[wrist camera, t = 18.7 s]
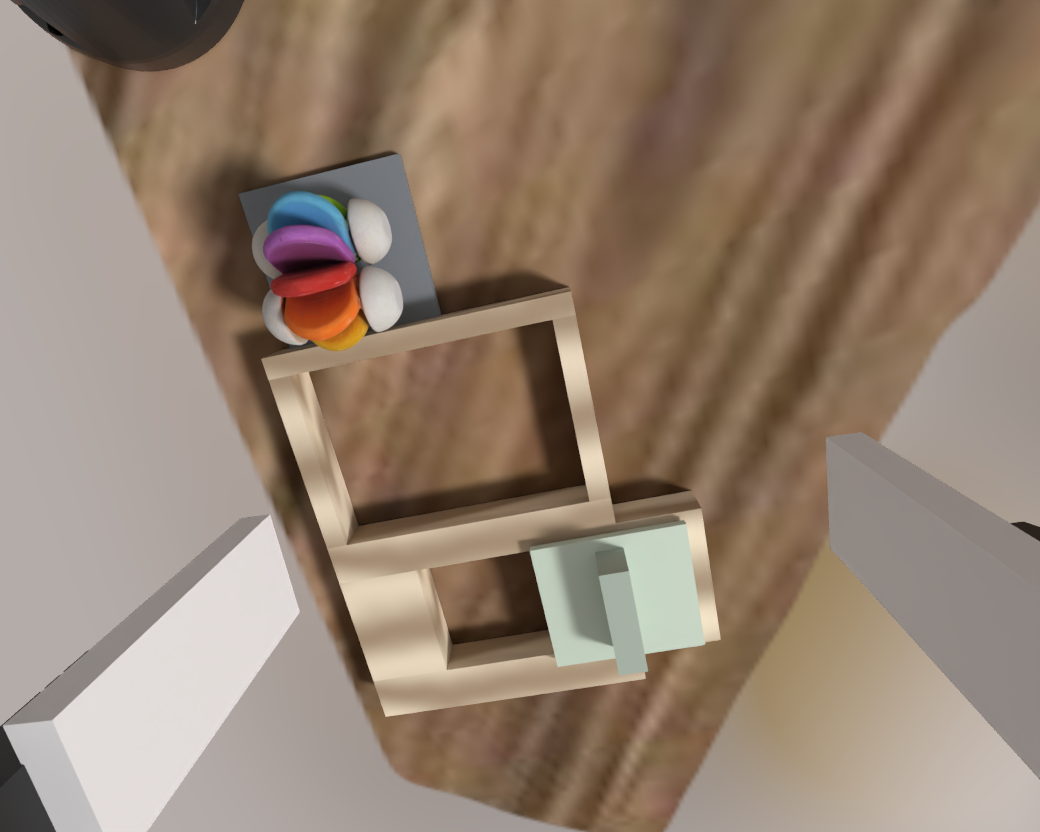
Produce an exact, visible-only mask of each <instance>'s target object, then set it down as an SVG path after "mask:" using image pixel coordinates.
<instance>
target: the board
mask: <svg viewBox="0 0 1040 832" xmlns="http://www.w3.org/2000/svg"><path fill="white" fill-rule="evenodd" d="M548 320H553V325H554V330H555V335H556V340H557V344H558V349H559V354H560V359H561V364H562V369H563V374H564V379H565V384H566V389H567V393H568V398H569V403H570V408H571V413H572V418H573V423H574V428H575V433H576V438H577V442H578V447H579V452H580V457H581V462H582V467H583V472H584V477H585V482H586V485H581V486H575V487H570V488H564V489H559V490H553V491H548V492H542V493H537V494H532V495H526V496H521V497H515V498H510V499H504V500H499V501H493V502H488V503H482V504H477V505H471V506H466V507H460V508H455V509H449V510H444V511H438V512H433V513H428V514H422V515H417V516H411V517H406V518H400V519H395V520H389V521H384V522H378V523H373V524H367V525H362V526H359V525H358V522H357V519H356V516H355V512H354V509H353V506H352V503H351V500H350V497H349V494H348V491H347V488H346V485H345V482H344V479H343V476H342V473H341V470H340V467H339V464H338V461H337V458H336V455H335V452H334V448H333V445H332V442H331V439H330V436H329V433H328V430H327V427H326V424H325V421H324V418H323V415H322V412H321V409H320V406H319V403H318V400H317V397H316V394H315V391H314V387H313V384H312V381H311V378H310V375H309V371H314V370H319V369H324V368H328V367H333V366H338V365H342V364H347V363H352V362H356V361H361V360H366V359H370V358H375V357H380V356H384V355H389V354H394V353H398V352H403V351H408V350H413V349H417V348H422V347H427V346H431V345H436V344H441V343H445V342H450V341H455V340H459V339H464V338H469V337H473V336H478V335H483V334H487V333H492V332H497V331H502V330H506V329H511V328H516V327H520V326H525V325H530V324H534V323H539V322H544V321H548ZM261 360H262V363H263V366H264V369H265V372H266V374H267V377H268V380H269V383H270V386H271V389H272V392H273V394H274V397H275V400H276V403H277V406H278V409H279V412H280V415H281V417H282V420H283V423H284V426H285V429H286V432H287V435H288V437H289V440H290V443H291V446H292V449H293V452H294V455H295V458H296V460H297V463H298V466H299V469H300V472H301V475H302V478H303V480H304V483H305V486H306V489H307V492H308V495H309V498H310V501H311V503H312V506H313V509H314V512H315V515H316V518H317V521H318V523H319V526H320V529H321V532H322V535H323V538H324V541H325V544H326V546H327V549H328V552H329V555H330V558H331V561H332V564H333V567H334V569H335V572H336V575H337V578H338V581H339V584H340V587H341V589H342V592H343V595H344V598H345V601H346V604H347V607H348V610H349V612H350V615H351V618H352V621H353V624H354V627H355V630H356V632H357V635H358V638H359V641H360V644H361V647H362V650H363V653H364V655H365V658H366V661H367V664H368V667H369V670H370V673H371V675H372V678H373V681H374V684H375V687H376V690H377V693H378V696H379V698H380V701H381V704H382V707H383V710H384V713H385V716H386V717H387V716H394V715H401V714H408V713H415V712H422V711H428V710H435V709H442V708H449V707H456V706H463V705H469V704H476V703H483V702H490V701H497V700H504V699H510V698H517V697H524V696H531V695H538V694H545V693H551V692H558V691H565V690H572V689H579V688H586V687H592V686H599V685H606V684H613V683H620V682H627V681H633V680H640V679H646V678H645V673H644V672H640V673H634V674H627V675H620V676H619V672H618V667H617V662H616V658H614V659H607V660H601V661H594V662H588V663H581V664H574V665H568V666H561V667H558V666H557V662H556V658H555V654H554V650H553V646H552V641H551V637H550V633H549V630H544V631H538V632H531V633H525V634H519V635H512V636H506V637H500V638H493V639H487V640H481V641H474V642H468V643H462V644H455V645H452V641H451V638H450V635H449V631H448V628H447V625H446V621H445V618H444V614H443V611H442V608H441V604H440V601H439V598H438V594H437V591H436V588H435V584H434V581H433V577H432V574H431V571H430V568H434V567H440V566H446V565H451V564H457V563H463V562H469V561H475V560H480V559H486V558H492V557H498V556H504V555H509V554H515V553H521V552H527V551H530V547H531V546H537V545H543V544H549V543H554V542H560V541H566V540H572V539H577V538H583V537H589V536H595V535H600V534H606V533H612V532H618V531H624V530H629V529H635V528H641V527H647V526H652V525H658V524H664V523H670V522H675V521H681V520H685V522H686V525H687V532H688V538H689V545H690V551H691V558H692V564H693V570H694V577H695V583H696V590H697V596H698V602H699V609H700V615H701V622H702V628H703V635H704V641H705V642H709V641H716V640H721V639H720V632H719V626H718V619H717V612H716V605H715V598H714V592H713V585H712V578H711V571H710V564H709V557H708V551H707V544H706V537H705V530H704V523H703V517H702V510H701V507H700V505H699V503H698V501H697V500H696V498H695V496H694V494H693V492H692V490H691V491H686V492H680V493H675V494H669V495H663V496H658V497H652V498H647V499H641V500H635V501H630V502H624V503H619V504H613V505H612V501H611V496H610V491H609V486H608V481H607V475H606V470H605V465H604V460H603V455H602V449H601V444H600V439H599V434H598V429H597V423H596V418H595V413H594V408H593V403H592V397H591V392H590V387H589V382H588V377H587V372H586V366H585V361H584V356H583V351H582V346H581V340H580V335H579V330H578V325H577V320H576V314H575V309H574V304H573V299H572V294H571V290H570V287H567V288H562V289H558V290H553V291H549V292H544V293H539V294H535V295H530V296H526V297H521V298H517V299H512V300H507V301H503V302H498V303H494V304H489V305H485V306H480V307H475V308H471V309H466V310H462V311H457V312H453V313H448V314H443V315H441V316H438V317H434V318H429V319H424V320H420V321H415V322H411V323H406V324H402V325H397V326H392V327H390V328H388V329H387V330H384V331H382V332H376V331H370V332H366V334H365V336H364V337H363V338H362V339H361V340H360V341H359V342H358V343H357V344H356V345H354V346H353V347H351V348H349V349H347V350H343V351H329V350H326V349H323V348H321V347H319V346H318V345H316V344H310V345H306V346H301V347H296V348H292V349H290V348H288V349H283V350H280V351H277V352H275V353H273V354H271V355H268V356H266V357H264V358H262V359H261Z"/></svg>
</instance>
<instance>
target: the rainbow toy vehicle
mask: <svg viewBox="0 0 1040 832" xmlns="http://www.w3.org/2000/svg"><path fill="white" fill-rule="evenodd" d="M391 243H392V233H391V228H390V224H389V221H388V218H387V216H386V214H385V213H384V212H383V210H382V209H381V208H380V207H378V206H377V205H376V204H374V203H372V202H370V201H368V200H365V199H358V198H354V199H350V200H349V202H348V206H347V209H346V208H345V207H344V206H343V205H341V204H340V203H339V202H337V201H336V200H334V199H332V198H330V197H327V196H324V195H316V194H313V193H310V192H306V191H290V192H287V193H285V194H283V195H282V196H280V197H279V198H278V199H277V200H276V201H275V202H274V203H273V205H272V206H271V208H270V211H269V214H268V219H267V220H266V221H265V222H263V223H262V224H261V225H260V226H259V227H258V229H257V230H256V232H255V234H254V236H253V240H252V252H253V256H254V259H255V261H256V263H257V265H258V266H259V268H260V269H261V270H262V271H263V272H264V273H265V274H266V275H268V276H269V277H271V278H272V279H274V280H273V281H272V282H271V289H270V290H269V292H268V293H267V295H266V296H265V299H264V301H263V306H262V315H263V319H264V322H265V325H266V327H267V328H268V330H269V331H270V332H271V333H272V334H273V335H274V336H275V337H276V338H278V339H279V340H281V341H283V342H285V343H288V344H292V345H303V344H305V343H306V342H307V341H308V340H311V341H313V342H314V343H315V344H316V345H318V346H319V347H321V348H323V349H326V350H329V351H343V350H347V349H349V348H351V347H353V346H354V345H356V344H357V343H358V342H359V341H360V340H361V339H362V338H363V337H364V336H365V334H366V332H367V330H368V327H369V326H371V327H372V329H373V330H374V331H376V332H382V331H384V330H387V329H388V328H390V327H391V326H393V325H394V324H395V323H396V322H397V320H398V319H399V317H400V315H401V313H402V310H403V297H402V292H401V289H400V286H399V284H398V282H397V280H396V279H395V278H394V277H393V276H392V275H391V274H390V273H388V272H387V271H385V270H383V269H381V268H378V267H371V266H367V267H364V268H363V269H362V270H361V271H360V272H359V274H358V275H357V273H358V270H357V267H356V266H355V265H354V263H357V262H359V261H360V260H361V259H362V260H363V261H364V262H365V263H366V264H368V265H373V264H375V263H377V262H379V261H380V260H381V259H382V258H383V257H384V256H385V255H386V254H387V252H388V251H389V249H390V246H391Z"/></svg>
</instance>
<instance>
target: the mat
mask: <svg viewBox="0 0 1040 832" xmlns="http://www.w3.org/2000/svg"><path fill="white" fill-rule="evenodd" d="M290 191H306V192H310V193H313V194H316V195H324V196H327V197H330V198H332V199H334V200H336V201H337V202H339V203H340V204H341V205H343V206H344V207H345V208H346V209H347V206H348V202H349V200H350V199H354V198H358V199H365V200H368V201H370V202H372V203H374V204H376V205H377V206H378V207H380V208H381V209H382V210H383V212H384V213H385V214H386V216H387V218H388V221H389V224H390V228H391V233H392V243H391V246H390V249H389V251H388V252H387V254H386V255H385V256H384V257H383V258H382V259H381V260H380V261H379V262H377V263H375V264H373V265H368V264H366V263H365V262H364V261H363V260H362V259H361V260H360V261H359V262H357V263H354V265H355V266H356V267H357V270H358V273H357V275H358V274H359V272H360V271H361V270H362V269H363V268H364V267H367V266H371V267H378V268H381V269H383V270H385V271H387V272H388V273H390V274H391V275H392V276H393V277H394V278H395V279H396V280H397V282H398V284H399V286H400V289H401V292H402V297H403V310H402V313H401V315H400V317H399V319H398V320H397V322H396V323H395V324H394V325H393V326H397V325H402V324H406V323H411V322H415V321H420V320H424V319H429V318H434V317H438V316H441V315H442V314H441V310H440V306H439V302H438V298H437V295H436V291H435V287H434V283H433V279H432V275H431V271H430V267H429V263H428V259H427V255H426V252H425V248H424V244H423V240H422V236H421V232H420V228H419V224H418V220H417V216H416V212H415V209H414V205H413V201H412V197H411V193H410V189H409V185H408V181H407V177H406V173H405V170H404V166H403V162H402V158H401V155H400V154H395V155H391V156H387V157H383V158H379V159H375V160H371V161H367V162H363V163H359V164H355V165H351V166H347V167H343V168H339V169H335V170H331V171H327V172H323V173H319V174H315V175H311V176H307V177H303V178H299V179H295V180H291V181H287V182H283V183H279V184H275V185H271V186H267V187H263V188H259V189H255V190H251V191H247V192H243V193H239V194H238V195H239V198H240V201H241V204H242V207H243V210H244V213H245V216H246V219H247V222H248V225H249V228H250V231H251V234H252V237H253V236H254V234H255V232H256V230H257V229H258V227H259V226H260V225H261V224H262V223H263V222H265V221H266V220H267V219H268V214H269V211H270V208H271V206H272V205H273V203H274V202H275V201H276V200H277V199H278V198H279V197H280V196H282V195H283V194H285V193H287V192H290ZM265 276H266V279H267V282H268V285H269V288H270V289H271V282H272V281H273V280H274V279H272V278H271V277H269V276H268V275H266V274H265ZM391 327H392V326H391ZM370 331H374V330H373V329H372V327H371V326H369V327H368V330H367V332H370ZM310 344H315V343H314V342H313V341H311V340H308V341H307V342H306V343H305V344H303V345H292V344H288V345H289V348H290V349H292V348H296V347H301V346H306V345H310Z"/></svg>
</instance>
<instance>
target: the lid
mask: <svg viewBox="0 0 1040 832" xmlns="http://www.w3.org/2000/svg"><path fill="white" fill-rule="evenodd" d="M530 554H531V559H532V563H533V567H534V571H535V575H536V579H537V583H538V588H539V592H540V596H541V600H542V604H543V608H544V612H545V617H546V621H547V625H548V629H549V633H550V637H551V641H552V646H553V650H554V654H555V658H556V662H557V666H558V667H561V666H568V665H574V664H581V663H588V662H594V661H601V660H607V659H614V658H616V662H617V667H618V672H619V676H620V675H627V674H634V673H640V672H647V671H648V668H647V663H646V658H645V654H647V653H654V652H661V651H667V650H674V649H680V648H687V647H694V646H700V645H705V641H704V635H703V628H702V622H701V615H700V609H699V602H698V596H697V590H696V583H695V577H694V570H693V564H692V558H691V551H690V545H689V538H688V532H687V525H686V522H685V520H681V521H675V522H670V523H664V524H658V525H652V526H647V527H641V528H635V529H629V530H624V531H618V532H612V533H606V534H600V535H595V536H589V537H583V538H577V539H572V540H566V541H560V542H554V543H549V544H543V545H537V546H531V547H530Z"/></svg>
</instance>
